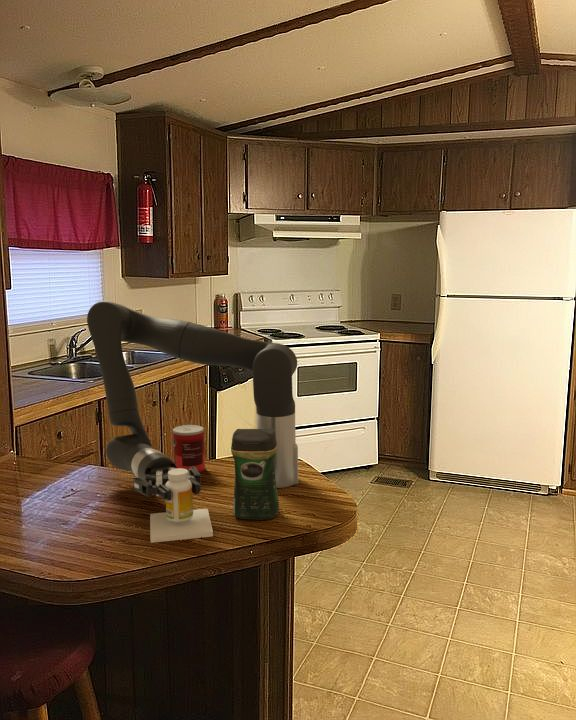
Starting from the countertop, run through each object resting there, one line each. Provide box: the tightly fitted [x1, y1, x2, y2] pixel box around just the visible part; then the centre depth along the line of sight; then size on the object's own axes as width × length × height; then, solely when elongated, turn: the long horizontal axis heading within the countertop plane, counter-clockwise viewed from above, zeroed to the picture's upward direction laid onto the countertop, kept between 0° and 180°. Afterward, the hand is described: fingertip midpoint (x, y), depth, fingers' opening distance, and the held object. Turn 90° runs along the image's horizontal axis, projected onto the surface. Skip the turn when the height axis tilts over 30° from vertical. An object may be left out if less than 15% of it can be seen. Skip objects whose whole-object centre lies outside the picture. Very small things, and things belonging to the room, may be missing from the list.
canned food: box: [172, 424, 206, 474], centre depth 168 cm, size 8×8×11 cm
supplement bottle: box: [165, 468, 194, 522], centre depth 133 cm, size 5×5×10 cm
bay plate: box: [149, 508, 214, 543], centre depth 134 cm, size 12×12×1 cm
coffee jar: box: [230, 428, 280, 520], centre depth 138 cm, size 10×8×19 cm
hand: (183, 492), depth 130 cm, fingers closed on supplement bottle, 5 cm apart
